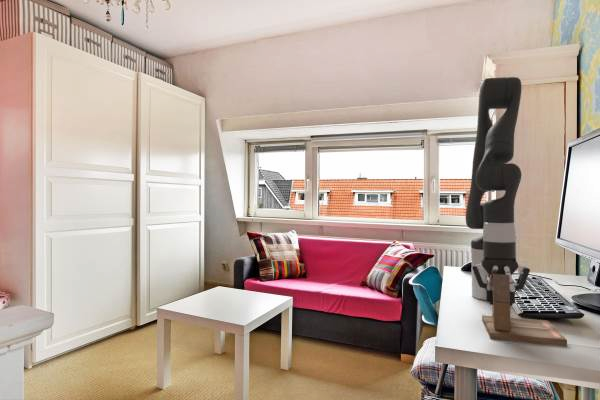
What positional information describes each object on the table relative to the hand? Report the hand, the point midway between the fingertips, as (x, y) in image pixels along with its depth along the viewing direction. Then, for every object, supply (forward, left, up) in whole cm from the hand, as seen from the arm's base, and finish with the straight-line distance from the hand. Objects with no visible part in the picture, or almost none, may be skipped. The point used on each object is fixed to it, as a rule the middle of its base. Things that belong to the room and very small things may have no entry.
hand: (500, 304), depth 94 cm
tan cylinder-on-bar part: (0, 0, -5) cm, 5 cm away
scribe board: (0, +5, -7) cm, 8 cm away
